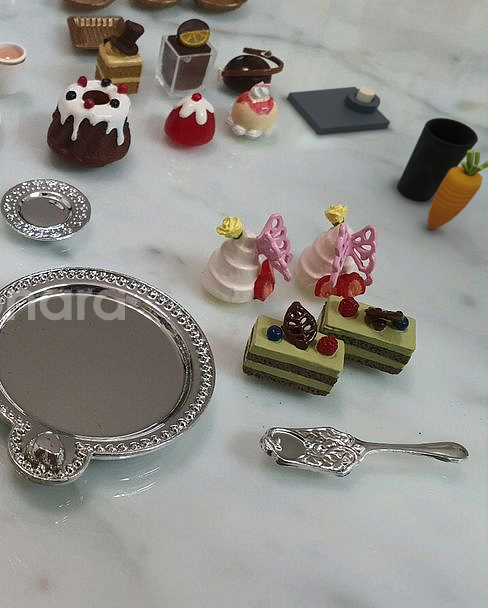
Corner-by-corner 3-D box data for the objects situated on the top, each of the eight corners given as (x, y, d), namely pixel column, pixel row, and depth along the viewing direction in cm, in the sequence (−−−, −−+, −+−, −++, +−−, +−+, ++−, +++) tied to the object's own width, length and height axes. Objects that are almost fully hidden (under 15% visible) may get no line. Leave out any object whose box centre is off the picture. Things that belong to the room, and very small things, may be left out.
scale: (353, 92, 147) (360, 79, 145) (388, 128, 140) (396, 114, 137) (286, 98, 145) (292, 85, 143) (318, 135, 138) (324, 121, 135)
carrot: (453, 231, 121) (507, 155, 109) (436, 243, 119) (489, 167, 107) (425, 214, 123) (475, 138, 112) (407, 225, 121) (456, 149, 110)
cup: (429, 212, 124) (469, 152, 115) (383, 191, 127) (418, 131, 118) (445, 190, 127) (484, 131, 119) (400, 171, 131) (435, 111, 122)
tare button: (366, 94, 142) (370, 86, 141) (374, 102, 140) (378, 94, 139) (352, 95, 142) (356, 87, 141) (360, 103, 140) (364, 95, 139)
